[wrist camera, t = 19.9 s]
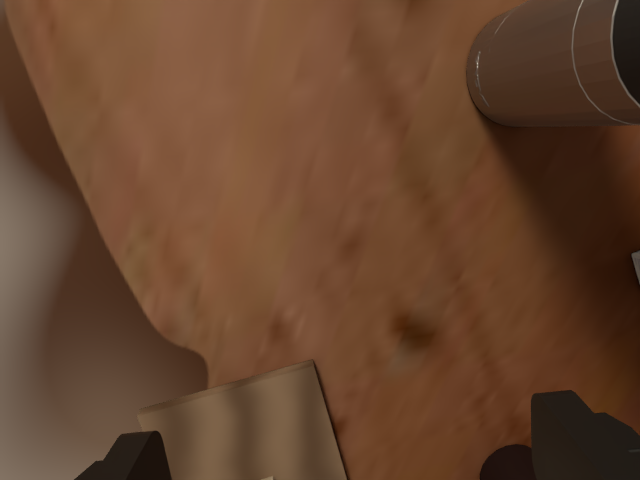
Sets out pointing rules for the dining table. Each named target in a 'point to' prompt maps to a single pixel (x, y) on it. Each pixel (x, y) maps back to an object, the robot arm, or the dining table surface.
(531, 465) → the bottle
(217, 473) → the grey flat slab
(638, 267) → the medicine box
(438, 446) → the dining table surface
